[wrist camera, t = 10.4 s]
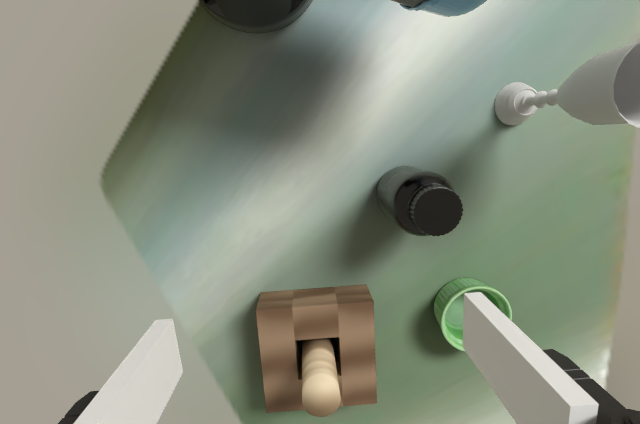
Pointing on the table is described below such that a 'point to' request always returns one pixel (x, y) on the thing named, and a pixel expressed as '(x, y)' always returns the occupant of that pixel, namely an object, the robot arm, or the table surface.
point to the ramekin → (452, 305)
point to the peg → (319, 377)
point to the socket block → (314, 323)
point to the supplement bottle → (419, 201)
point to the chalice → (584, 92)
